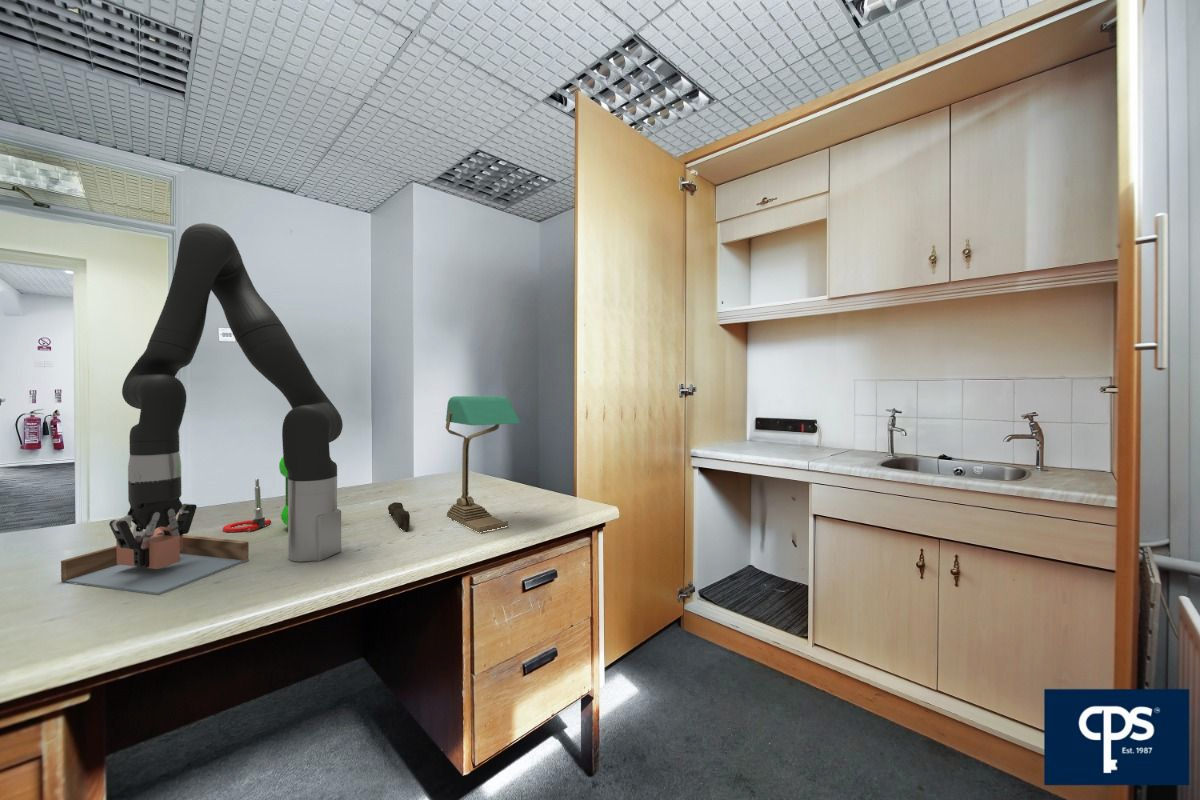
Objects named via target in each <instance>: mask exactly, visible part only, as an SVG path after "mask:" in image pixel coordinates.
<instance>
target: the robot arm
mask: <svg viewBox="0 0 1200 800" xmlns="http://www.w3.org/2000/svg"><path fill="white" fill-rule="evenodd" d="M177 250H178V251H177V257H176V262H175V267H174V272H173V277H172V279H171V283H170V286H169V290H168V293H167V296H166V299H165V301H164V304H163V307H162V309H161V312H160V315H159V317H158V319H157V322H156V324H155V326H154V328H153V331H152V333H151V335H150V338H149V341H148V343H147V346H146V349H145V350H144V352H143V353H142V355H141V356H139V358H138V359H137V361H136V362H135V363H134V365H133V366H132V368H131V369H130V370H129V372H128V373H127V375H126V377H125V379H124V381H123V384H122V389H121V393H122V398H123V400H124V401H125V403H126V404H127V405H129V406H130V407H131V408H134V409H138V410H140V413H139V418H138V423H137V424H135V425H134V426H132V427H131V429H130V432H129V443H128V444H129V459H128V463H127V464H128V465H127V491H128V492H127V493H128V494H127V497H128V498H127V499H128V503H129V505H130V507H129V510H128V512H127V513H126V516H123V517H121V518H119V519H113V520H111V521H110V522H109V524H108V526H109V527H110V529H111V532H112V534H113V535H114V538H115V539H116V540H117V542H118V544H119V546H120V548H127V549H133V550H134V565H135V566H137V567H138V568H147V567H149V548H147V547H148V545H149V541H150V538H151V536H153V534H154V531H155V529H156V528H159V529H160V530H161V531H162V534H163V535H168V536H178V537H180V536H181V535H187V534H188V533H189V532H190V529H191V526H192V523H193V520H194V516H195V514H196V510H197V504H195V503H194V504H193V503H182V501H181V499H180V498H181V496H182V460H181V456H180V432H179V431H180V429H181V428H180V427H181V424H182V421H183V418H184V415H185V410H186V407H187V406H186V405H187V391H186V389H185V385H184V383H182V381H181V380H180V379H179V378H177V377H176V376H177V374H178V373H179V371H180V370H181V369H182V368H185V367H187V366H189V365H190V364H191V363H192V361H193V359H194V357H195V354H196V351H197V350H198V346H199V345H200V341H201V338H202V337H203V332H204V330H205V329H204V328H205V324H206V319H207V318H206V317H207V310H208V304H209V300H210V295H211V292H212V293H213V295H214V296H215V298H216V299H217V301H218V303H220V305H221V308H222V310H223V313H224V315H225V316H224V317H225V318H226V321H227V323H228V326H229V328H230V329H229V330H231V332H232V335H233V337H234V339H235V341H236V343H238V345H239V348H240V349H241V350H242V352H243V354H244V355H245V357H246V359H247V360H248V362H249V363H250V364H251V365H252V366H253V368H254V369H256V370H257V371H258V372H259V373H260V374H261V375H262V376H263V377H264V378H265V379H266V380H268V382H270V383H271V384H272V385H273V386H275V387H276V388H277V389H278V390H279V392H281V393H282V395H283V396H284V397H285V398H286V400H287V402H288V404H289V405H290V407H291V409H290V410H289V411H288V413H286V415H285V417H284V419H283V422H282V427H281V428H282V429H281V433H282V435H281V437H282V438H281V441H282V457H283V459H284V465H285V467H286V469H287V471H288V526H287V531H288V532H287V543H288V544H287V545H288V547H287V549H288V550H287V551H288V552H287V553H288V554H287V555H288V560H290V561H293V562H311V561H322V560H325V559H327V558H329V557H331V556H334V555H335V554H338V553H339V552H342V510H341V509H340V508H339V509H338V464H337V463H336V462H335V461H333V460H332V458H331V456H330V455H331V453H330V443H331V442H334V441H336V440H337V439H338V438H339V437H340V435H341V434H342V431H343V428H344V427H343V418H342V417H341V414H340V412H339V410H338V409H337V408H336V407H335V405H334V404H333V403H332V402H331V400H330V399H329V398H328V396H327V395H326V393H325V392H324V391H323V389H322V388H321V387H320V385H319V384H318V382H317V381H316V379H315V378H314V376H313V374H312V372H311V371H310V369H309V367H308V365H307V364H306V362H305V360H304V359H303V357H302V355H301V353H300V351H299V350H298V349H297V347H296V344H295V343H294V341H293V339H292V338H291V336H290V334H289V333H288V331H287V329H286V327H285V325H284V324H283V323H282V321H281V320H280V317H278V315H277V314H276V313H275V311H273V309H272V308H271V307H270V306H269V304H267V302H266V301H265V300H264V299H263V298H262V297H261V296H260V294H259V293H258V291H257V289H256V287H255V286H254V284H253V281H252V280H251V278H250V275H249V273H248V271H247V269H246V266H245V264H244V261H243V258H242V255H241V253H240V250H239V249H238V247H237V244H236V242H235V241H234V239H233V237H232V236H231V235H230V233H228V231H226V230H225V229H224V228H222V227H220V226H218V225H216V224H212V223H205V222H201V223H200V222H199V223H196V224H193V225H190V226H188V227H187V228H186V229H185V230H184V231H183V232H182V234H181V235H180V240H179V245H178V249H177ZM177 515H178V516H177ZM176 516H177V518H176ZM132 523H133V524H134V527H133V530H131V528H132ZM144 530H145V531H144Z"/></svg>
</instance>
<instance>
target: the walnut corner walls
mask: <svg viewBox="0 0 1200 800" xmlns="http://www.w3.org/2000/svg"><path fill="white" fill-rule="evenodd" d="M249 552H250V550H249V541H246V540H238V539H236V540H235V539H226V538H215V537H206V536H196V535H187V534H183V550H182V551H180V553H181V554H190V555H200V556H209V557H218V558H227V559H236V560H245V559H248V558H249V555H250V553H249ZM115 565H118V564H117V545H114V546H110V547H106V548H103V549H99V550H96V551H93V552H88V553H85V554H81V555H77V556H74V557H70V558H67V559H63V560H60V574H61V575H60V579H61V580H69V579H73V578H76V577H79V576H82V575H86V574H89V573H92V572H95V571H99V570H102V569H105V568H108V567H112V566H115ZM61 580H60V581H61ZM61 583H65V581H64V582H63V581H62V582H61Z"/></svg>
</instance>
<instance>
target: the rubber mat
mask: <svg viewBox="0 0 1200 800" xmlns="http://www.w3.org/2000/svg"><path fill="white" fill-rule="evenodd" d="M247 560H248V561H249V558H248V559H245V560H236V559H227V558H218V557H209V556H200V555H190V554H181V553H180V562H177V563H174V564H171V565H168V566H165V567H162V568H159V569H152V568H138V567H135V566H127V565H119V564H118V565H115V566H112V567H108V568H105V569H102V570H99V571H95V572H92V573H89V574H86V575H82V576H79V577H76V578H73V579H69V580H60V582H61V581H63V582H62V583H65V582H69V583H68V584H73V583H77V584H76V585H80V584H85V585H84V586H88V585H92V586H91V587H95V586H97V587H96V588H103V589H110V590H112V589H113V590H117V591H125V592H126V591H127V592H132V593H133V592H135V593H140V594H142V593H143V594H147V595H148V594H149V595H155V596H158V595H161V594H164V593H167V592H170V591H173V590H176V589H177V588H180V587H183V586H185V585H188V584H190V583H193V582H196V581H199V580H200V579H203V578H206V577H208V576H211V575H214V574H216V573H219V572H222V571H224V570H227V569H229V568H231V567H234V566H236V565H237V566H238V565H240V564H241V563H244V561H245V562H247ZM64 581H65V582H64Z"/></svg>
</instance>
